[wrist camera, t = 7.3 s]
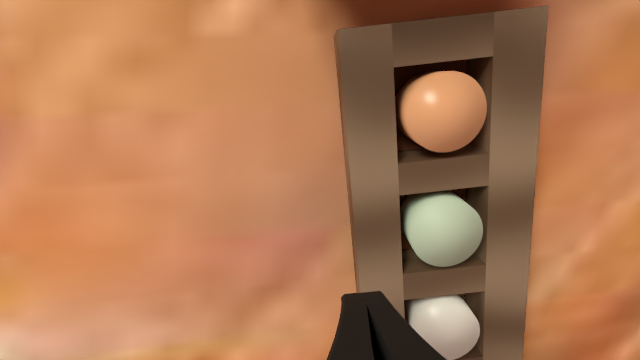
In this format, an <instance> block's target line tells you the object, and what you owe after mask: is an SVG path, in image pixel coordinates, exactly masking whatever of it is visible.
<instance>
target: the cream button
mask: <svg viewBox="0 0 640 360" xmlns="http://www.w3.org/2000/svg"><path fill="white" fill-rule="evenodd" d="M404 314H405V319H406V321H407V322H408V323H409V324H410V326H411V327H412V328H413V329H414V330H415V331H416V332H417V333H418V334H419V335H420V336H421V337H422V338H423V339H424V340H425V341H426V342H428V343H429V344H430V345H431V346H432V347H433V348H434V349H435V350H436V351H437V352H438V353H440V354H441V355H442V356H443V357H444V358H445V359H447V360H454V359H457V358H460V357H462V356H463V355H465V354H467V353H468V352H469V351H470V350H471V349H472V348H473V347H474V346H475V344H476V343H477V341H478V338H479V335H480V326H479V322H478V320H477V318H476V317H475V315H474V314H473V312H472V311H471V310H470V308H469V307H468V305H467V304H466V302H465V301H464V299H463V298H462V296H461V295H460V294H455V295H446V296H437V297H428V298H419V299H410V300H404Z"/></svg>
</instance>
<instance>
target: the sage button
mask: <svg viewBox="0 0 640 360" xmlns="http://www.w3.org/2000/svg"><path fill="white" fill-rule="evenodd" d="M400 224H401V230H402V231H403V233H404V235H405V236H406V238H407V240H408V241H409V243H410V245H411V246H412V248H413V250H414V251H415V253H416V255H417V256H418V257H419V258H420V259H421V260H423V261H424V262H426V263H428V264H430V265H433V266H438V267H448V266H453V265H456V264H459V263H461V262H463V261H465V260H466V259H467V258H469V257H470V256H471V255H472V254H473V253H474V252H475V251H476V249H477V248H478V246H479V244H480V242H481V240H482V236H483V224H482V221H481V218H480V216H479V214H478V213H477V212H476V211H475V210H474V209H473V208H472V207H471V206H470V205H469V204H467V203H466V202H465V201H464V200H462V199H461V198H460V197H459V196H457V195H456V194H455V193H454V192H453V191H451V190H444V191H435V192H426V193H417V194H410V195H408V196H407V198H406V199H405V200H404V202H403V203H402V205H401V208H400Z"/></svg>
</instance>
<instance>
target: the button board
mask: <svg viewBox="0 0 640 360" xmlns="http://www.w3.org/2000/svg"><path fill="white" fill-rule="evenodd" d="M547 18H548V6H540V7H531V8H522V9H513V10H505V11H496V12H487V13H478V14H469V15H460V16H451V17H442V18H433V19H425V20H416V21H407V22H398V23H389V24H380V25H371V26H362V27H354V28H345V29H338V30H337V31H336V33H335V35H334V43H335V54H336V65H337V77H338V88H339V99H340V110H341V121H342V133H343V144H344V155H345V166H346V178H347V189H348V200H349V211H350V222H351V234H352V245H353V256H354V267H355V278H356V290H357V293H362V292H373V291H381V292H382V293H383V294H384V295H385V296H386V298H387V299H388V300H389V302H390V303H391V304H392V305H393V306H394V308H395V309H396V310H397V311H398V312H399V314H400V315H401V316H402V317H403V318H404V319H405V314H404V300H410V299H419V298H428V297H437V296H446V295H455V294H464V293H465V302H466V304H467V305H468V307H469V308H470V310H471V311H472V312H473V314H474V315H475V317H476V318H477V320H478V322H479V326H480V335H479V338H478V341H477V343H476V344H475V346H474V347H473V348H472V349H471V350H470V351H469V352H468V353H467V354H465V355H463V356H462V357H460V358H457V359H454V360H522V358H523V344H524V330H525V317H526V303H527V290H528V276H529V263H530V249H531V235H532V222H533V208H534V195H535V181H536V168H537V154H538V141H539V127H540V113H541V100H542V86H543V73H544V59H545V46H546V32H547ZM464 59H468V75H469V76H470V77H472V78H473V79H475V80H476V81H477V82H478V84H479V85H480V86H481V88H482V90H483V92H484V94H485V97H486V102H487V112H486V118H485V121H484V124H483V126H482V128H481V130H480V131H479V133H478V134H477V136H476V137H475V138H474V139H473V140H472V141H471V142H470V143H468V144H467V145H465V146H464V147H462V148H460V149H458V150H455V151H451V152H434V151H431V150H428V149H426V148H425V149H417V150H408V151H399V152H397V134H396V111H395V89H394V67H402V66H411V65H420V64H429V63H437V62H446V61H455V60H464ZM462 188H466V203H467V204H469V205H470V206H471V207H472V208H473V209H474V210H475V211H476V212H477V213H478V214H479V216H480V218H481V221H482V224H483V236H482V240H481V242H480V244H479V246H478V248H477V249H476V251H475V252H474V253H473V254H472V255H471V256H470V257H469V258H467V259H466V260H465V261H463V262H461V263H459V264H456V265H453V266H448V267H438V266H433V265H430V264H428V263H426V262H424V261H423V260H421V259H420V258H419V257H418V256H417V255H416V253H415V251H414V250H413V249H408V250H402V246H401V224H400V201H399V195H408V194H417V193H426V192H435V191H444V190H453V189H462Z"/></svg>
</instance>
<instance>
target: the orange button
mask: <svg viewBox="0 0 640 360" xmlns="http://www.w3.org/2000/svg"><path fill="white" fill-rule="evenodd" d="M395 111H396V124H397V126H398V127H399V129H400V130H401V132H402V133H403V134H404V135H405V136H407V137H408V138H410V139H411V140H413V141H414V142H416V143H418V144H419V145H421V146H422V147H424V148H426V149H428V150H431V151H434V152H451V151H455V150H458V149H460V148H462V147H464V146H465V145H467V144H468V143H470V142H471V141H472V140H473V139H474V138H475V137H476V136H477V134H478V133H479V131H480V130H481V128H482V126H483V124H484V121H485V118H486V112H487V102H486V97H485V94H484V92H483V90H482V88H481V86H480V85H479V84H478V82H477V81H476V80H475V79H473V78H472V77H470V76H469V75H467V74H465V73H462V72H458V71H434V72H424V73H420V74H418V75H416V76H414V77H412V78H411V79H409V80H408V81H407V82H406V83H405V84H404V85H403V86H402V88H401V89H400V90H399V92H398V94H397V97H396V99H395Z"/></svg>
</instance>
